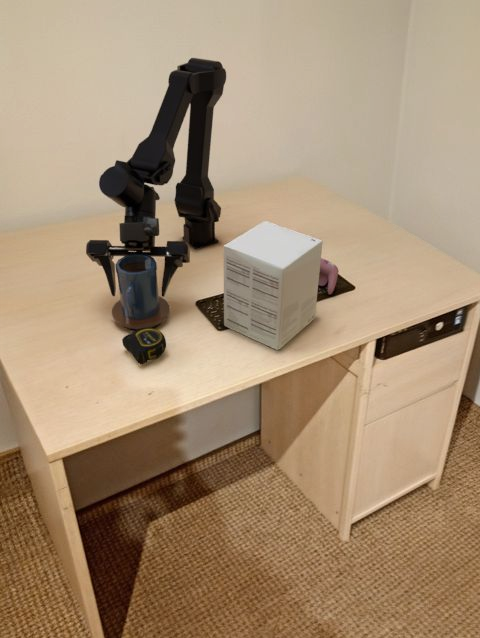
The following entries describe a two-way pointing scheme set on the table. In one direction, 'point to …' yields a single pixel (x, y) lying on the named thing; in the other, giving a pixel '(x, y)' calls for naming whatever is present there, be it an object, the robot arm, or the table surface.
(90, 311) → the table surface
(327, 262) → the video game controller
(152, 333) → the tape measure
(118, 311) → the mug
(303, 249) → the supplement box
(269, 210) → the table surface
